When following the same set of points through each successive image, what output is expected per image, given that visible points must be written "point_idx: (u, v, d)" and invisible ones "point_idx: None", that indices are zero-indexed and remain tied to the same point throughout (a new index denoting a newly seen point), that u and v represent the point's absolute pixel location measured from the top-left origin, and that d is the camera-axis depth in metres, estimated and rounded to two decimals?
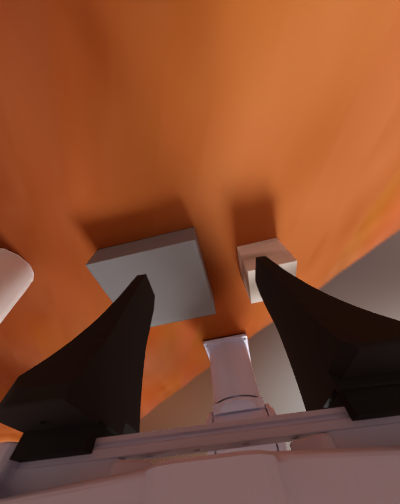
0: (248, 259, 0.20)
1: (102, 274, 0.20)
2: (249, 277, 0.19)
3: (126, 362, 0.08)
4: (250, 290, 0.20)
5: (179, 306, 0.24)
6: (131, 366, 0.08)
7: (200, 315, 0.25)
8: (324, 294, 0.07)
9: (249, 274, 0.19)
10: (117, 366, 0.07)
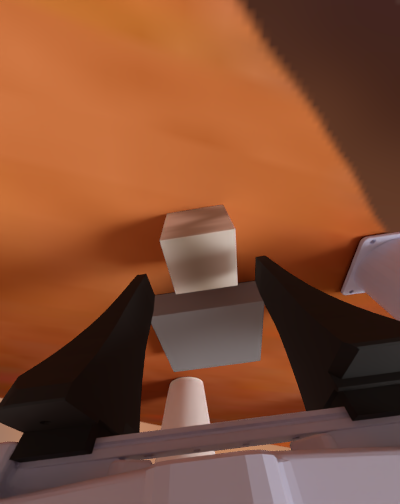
0: None
1: (183, 366, 0.25)
2: (186, 291, 0.14)
3: (126, 362, 0.08)
4: (211, 287, 0.15)
5: (237, 330, 0.21)
6: (131, 366, 0.08)
7: (260, 314, 0.20)
8: (324, 294, 0.07)
9: (181, 292, 0.15)
10: (117, 366, 0.07)
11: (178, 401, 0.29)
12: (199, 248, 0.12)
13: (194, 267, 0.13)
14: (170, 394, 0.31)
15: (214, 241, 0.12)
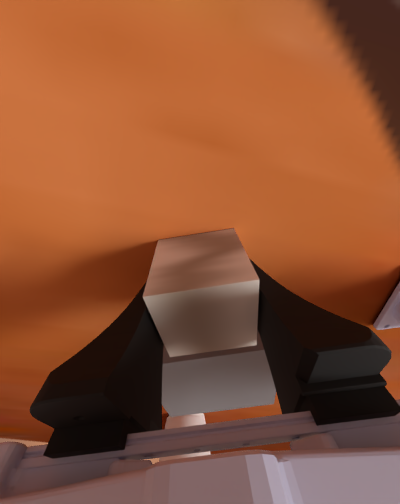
0: None
1: (182, 412, 0.21)
2: (184, 354, 0.10)
3: (149, 359, 0.08)
4: (219, 348, 0.10)
5: (248, 376, 0.17)
6: (153, 363, 0.08)
7: None
8: (298, 298, 0.07)
9: (177, 354, 0.10)
10: (142, 362, 0.07)
11: None
12: (203, 304, 0.08)
13: (196, 327, 0.09)
14: None
15: (226, 296, 0.08)
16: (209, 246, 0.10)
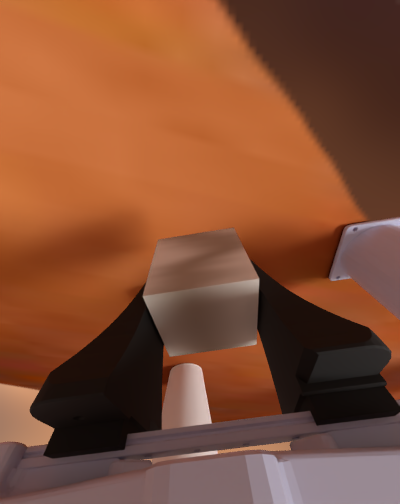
0: None
1: None
2: (184, 353, 0.10)
3: (149, 359, 0.08)
4: (219, 347, 0.10)
5: None
6: (153, 363, 0.08)
7: None
8: (298, 298, 0.07)
9: (177, 354, 0.10)
10: (142, 362, 0.07)
11: (178, 385, 0.31)
12: (203, 304, 0.08)
13: (196, 326, 0.09)
14: (170, 379, 0.33)
15: (226, 295, 0.08)
16: (209, 245, 0.10)
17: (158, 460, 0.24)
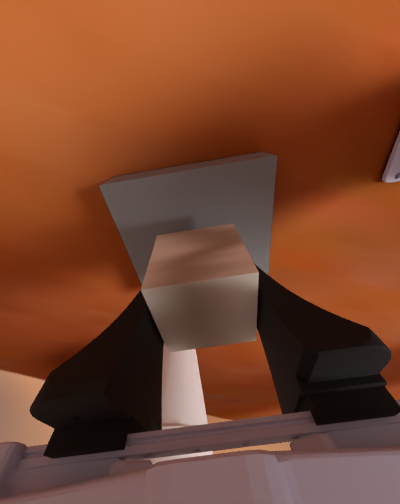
0: None
1: None
2: (183, 349, 0.10)
3: (149, 359, 0.08)
4: (219, 343, 0.10)
5: (236, 223, 0.14)
6: (153, 363, 0.08)
7: (270, 189, 0.13)
8: (298, 298, 0.07)
9: (176, 350, 0.10)
10: (142, 362, 0.07)
11: None
12: (202, 298, 0.08)
13: (195, 321, 0.09)
14: None
15: (225, 289, 0.08)
16: (208, 241, 0.10)
17: None
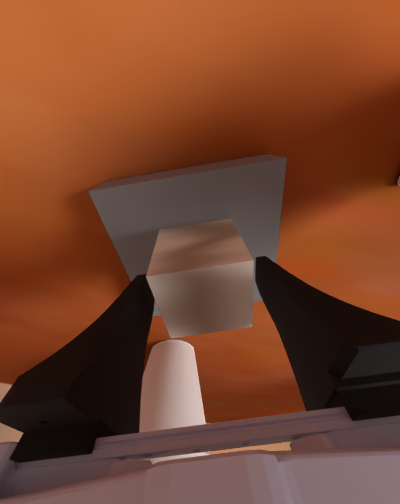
0: None
1: None
2: (184, 335, 0.11)
3: (126, 362, 0.08)
4: (217, 329, 0.11)
5: (240, 231, 0.13)
6: (131, 366, 0.08)
7: (278, 195, 0.12)
8: (324, 294, 0.07)
9: (177, 335, 0.11)
10: (117, 366, 0.07)
11: (158, 367, 0.22)
12: (202, 285, 0.09)
13: (195, 307, 0.10)
14: (149, 361, 0.23)
15: (223, 276, 0.09)
16: (208, 234, 0.11)
17: None
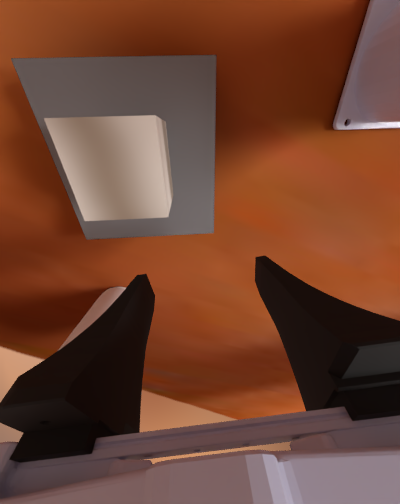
0: None
1: (100, 228, 0.17)
2: (98, 218, 0.11)
3: (126, 362, 0.08)
4: (133, 217, 0.11)
5: (175, 140, 0.13)
6: (131, 366, 0.08)
7: (211, 100, 0.12)
8: (324, 294, 0.07)
9: (91, 218, 0.11)
10: (117, 366, 0.07)
11: (101, 306, 0.21)
12: (106, 143, 0.09)
13: (104, 177, 0.10)
14: (94, 303, 0.23)
15: (127, 134, 0.09)
16: None
17: None
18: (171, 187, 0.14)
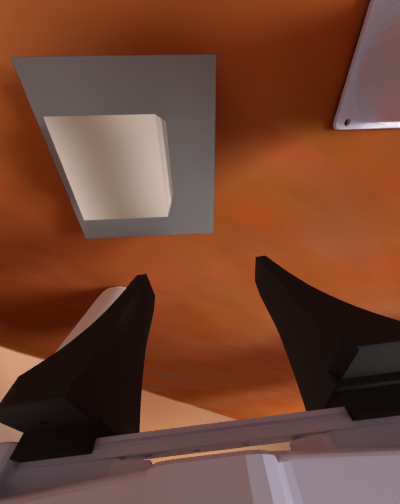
0: None
1: (99, 227, 0.16)
2: (98, 218, 0.11)
3: (126, 362, 0.08)
4: (133, 216, 0.11)
5: (175, 140, 0.13)
6: (131, 366, 0.08)
7: (211, 100, 0.12)
8: (324, 294, 0.07)
9: (91, 217, 0.11)
10: (117, 366, 0.07)
11: (100, 306, 0.21)
12: (106, 142, 0.09)
13: (104, 176, 0.10)
14: (94, 303, 0.23)
15: (127, 133, 0.09)
16: None
17: None
18: (171, 186, 0.14)
